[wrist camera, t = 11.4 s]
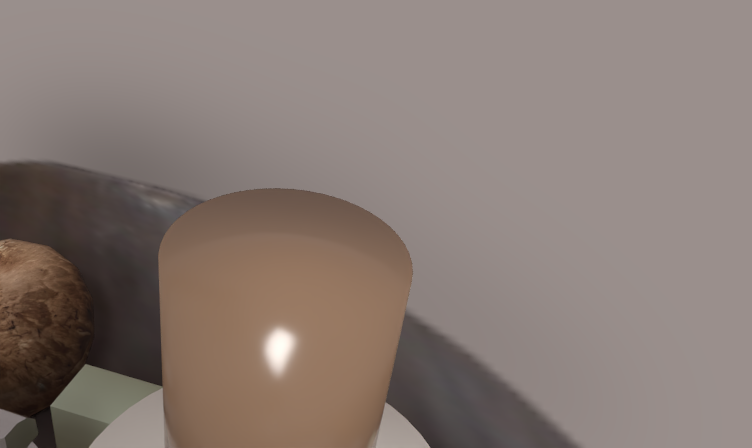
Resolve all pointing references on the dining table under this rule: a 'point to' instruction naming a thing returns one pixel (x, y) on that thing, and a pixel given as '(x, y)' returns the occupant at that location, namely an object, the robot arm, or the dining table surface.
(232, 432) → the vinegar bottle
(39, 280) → the mushroom
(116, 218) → the dining table surface
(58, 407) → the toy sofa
